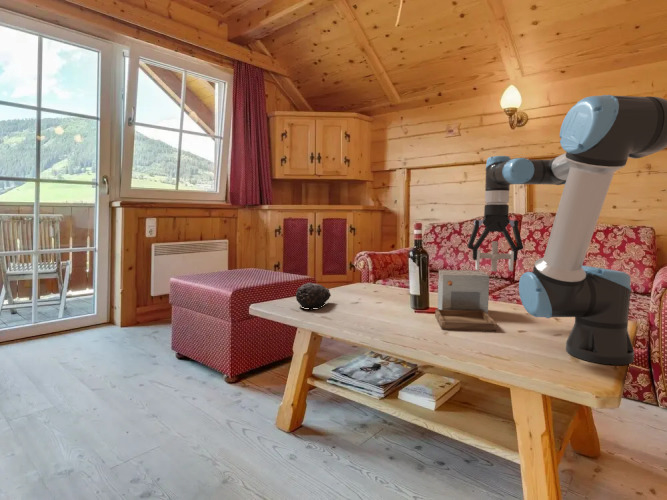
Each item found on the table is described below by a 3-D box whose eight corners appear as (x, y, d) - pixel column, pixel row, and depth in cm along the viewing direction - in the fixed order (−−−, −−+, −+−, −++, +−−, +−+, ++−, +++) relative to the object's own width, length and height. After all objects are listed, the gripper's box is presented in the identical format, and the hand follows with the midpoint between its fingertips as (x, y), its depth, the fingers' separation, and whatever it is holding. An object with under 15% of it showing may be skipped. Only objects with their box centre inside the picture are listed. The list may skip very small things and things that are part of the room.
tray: (496, 331, 130) (497, 323, 129) (441, 329, 132) (441, 321, 132) (484, 317, 147) (484, 310, 146) (435, 316, 149) (435, 309, 148)
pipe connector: (512, 273, 133) (513, 243, 132) (479, 272, 136) (481, 242, 135) (507, 269, 143) (508, 240, 142) (476, 268, 145) (478, 240, 144)
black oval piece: (333, 302, 170) (333, 278, 169) (316, 312, 154) (316, 286, 153) (311, 300, 174) (310, 277, 173) (291, 310, 158) (291, 284, 157)
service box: (488, 317, 147) (489, 275, 145) (442, 316, 149) (443, 274, 147) (479, 308, 160) (481, 270, 158) (437, 307, 162) (438, 269, 160)
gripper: (529, 204, 139) (526, 269, 141) (459, 204, 143) (457, 267, 145) (536, 203, 131) (532, 272, 134) (462, 203, 135) (460, 270, 137)
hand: (493, 270), depth 139 cm, fingers closed on pipe connector, 10 cm apart
